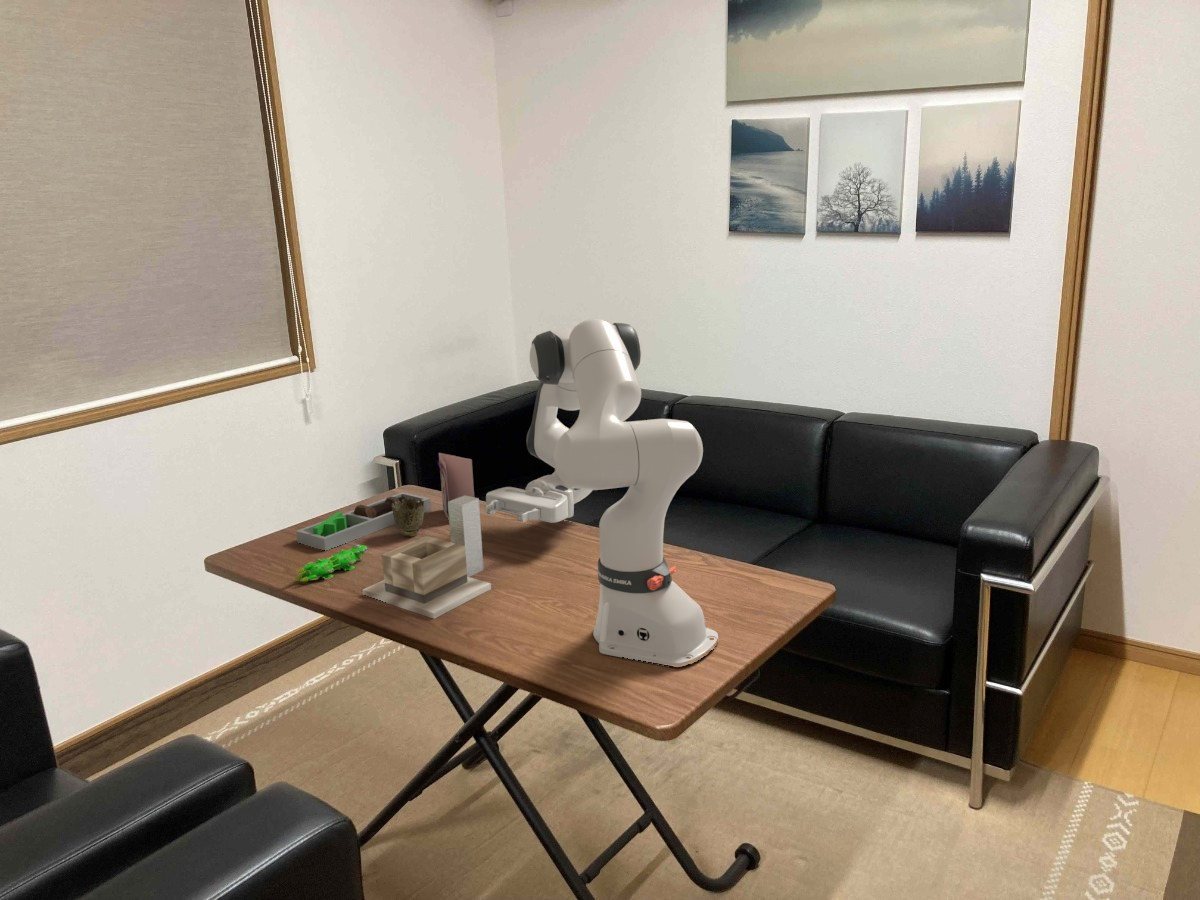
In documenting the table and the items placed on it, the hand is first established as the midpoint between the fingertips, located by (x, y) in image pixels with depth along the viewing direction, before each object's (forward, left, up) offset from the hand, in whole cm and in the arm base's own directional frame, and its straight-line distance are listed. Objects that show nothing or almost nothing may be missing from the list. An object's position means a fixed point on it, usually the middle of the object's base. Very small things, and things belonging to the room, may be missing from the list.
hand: (503, 514), depth 205 cm
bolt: (+42, -2, -10) cm, 43 cm away
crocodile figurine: (+25, +27, -10) cm, 38 cm away
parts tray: (+41, +4, -9) cm, 42 cm away
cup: (+27, +3, -9) cm, 29 cm away
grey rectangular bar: (0, +12, -9) cm, 15 cm away
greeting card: (+27, -13, -9) cm, 31 cm away
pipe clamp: (+41, +14, -9) cm, 45 cm away
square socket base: (0, +24, -9) cm, 26 cm away
